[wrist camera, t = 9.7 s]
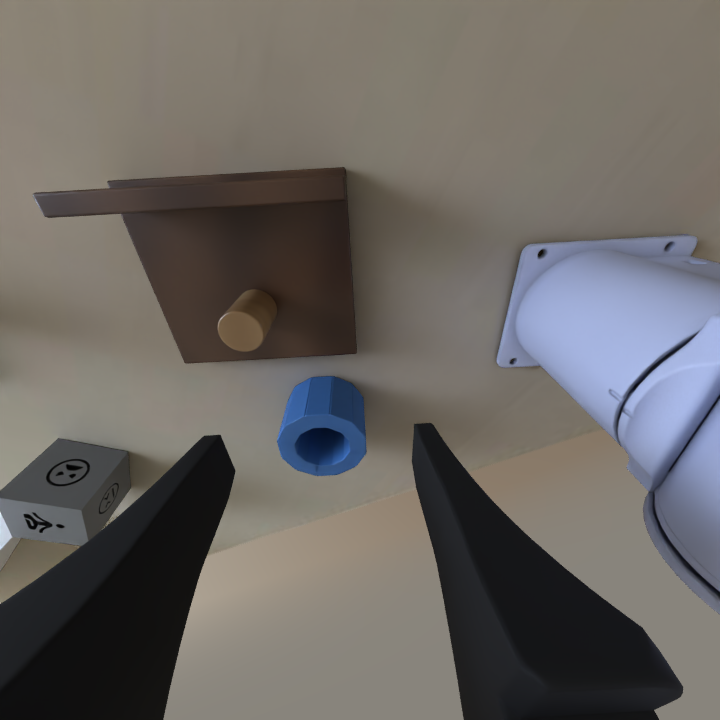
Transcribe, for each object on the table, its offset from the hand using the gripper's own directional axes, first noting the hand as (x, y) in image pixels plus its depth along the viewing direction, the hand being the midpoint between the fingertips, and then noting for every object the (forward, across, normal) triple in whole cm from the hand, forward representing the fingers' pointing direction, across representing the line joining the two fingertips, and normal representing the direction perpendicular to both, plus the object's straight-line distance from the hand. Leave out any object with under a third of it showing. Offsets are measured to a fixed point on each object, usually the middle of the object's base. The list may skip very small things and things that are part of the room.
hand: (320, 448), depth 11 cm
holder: (+9, +4, -4) cm, 11 cm away
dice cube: (+10, +21, +11) cm, 26 cm away
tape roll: (+9, +1, +6) cm, 11 cm away
